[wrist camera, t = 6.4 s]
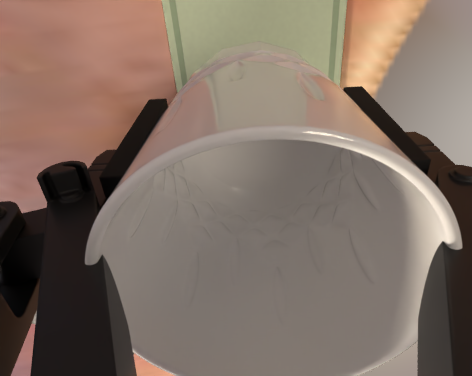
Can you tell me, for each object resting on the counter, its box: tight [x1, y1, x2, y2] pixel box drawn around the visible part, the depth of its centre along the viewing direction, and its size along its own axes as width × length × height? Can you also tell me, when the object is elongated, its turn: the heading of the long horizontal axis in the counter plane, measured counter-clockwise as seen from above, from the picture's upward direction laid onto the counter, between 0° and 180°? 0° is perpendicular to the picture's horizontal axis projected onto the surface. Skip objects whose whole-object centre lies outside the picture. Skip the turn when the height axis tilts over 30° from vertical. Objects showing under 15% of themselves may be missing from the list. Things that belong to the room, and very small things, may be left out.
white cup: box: [85, 41, 463, 376], centre depth 12 cm, size 8×8×10 cm
